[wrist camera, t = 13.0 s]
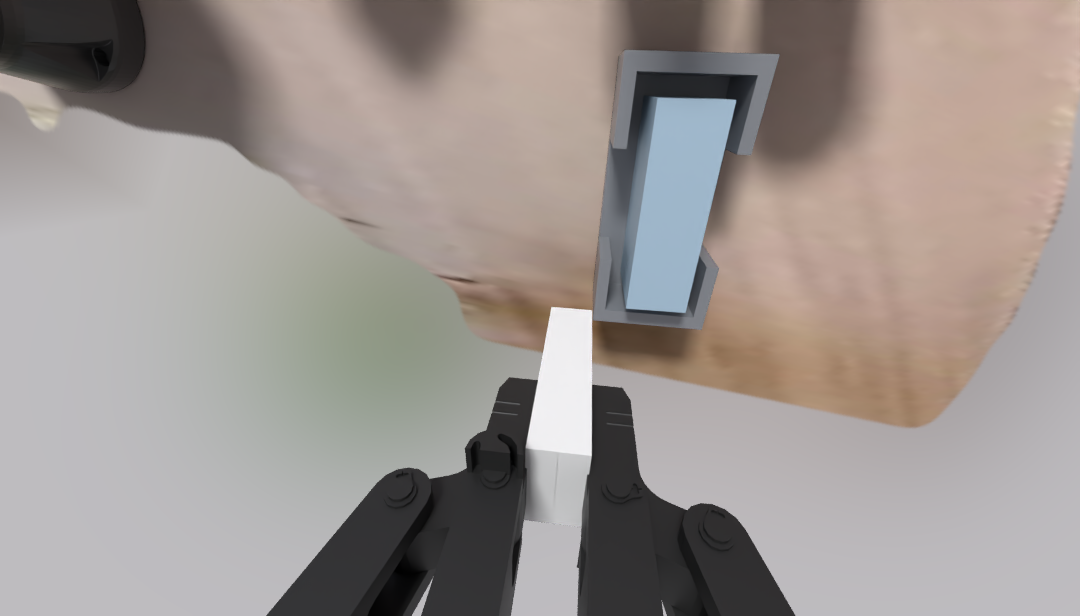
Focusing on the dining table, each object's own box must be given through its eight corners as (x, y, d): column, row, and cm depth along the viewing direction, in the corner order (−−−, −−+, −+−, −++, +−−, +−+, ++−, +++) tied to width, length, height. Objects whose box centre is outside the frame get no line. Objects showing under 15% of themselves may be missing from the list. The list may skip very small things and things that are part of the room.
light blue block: (620, 270, 40) (625, 308, 34) (643, 95, 33) (657, 97, 26) (669, 273, 40) (685, 312, 33) (705, 97, 32) (736, 99, 25)
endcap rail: (592, 287, 43) (593, 320, 37) (618, 56, 32) (624, 49, 26) (685, 294, 42) (701, 329, 36) (743, 60, 31) (779, 54, 25)
